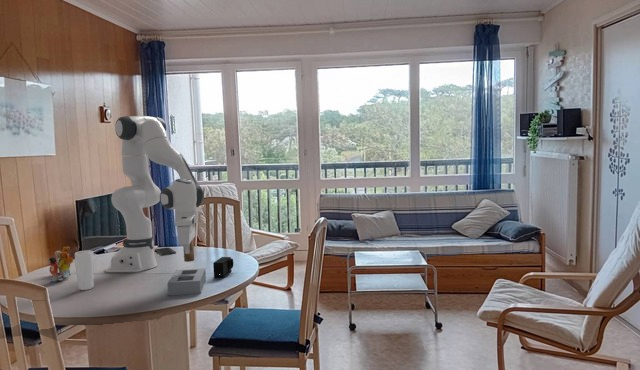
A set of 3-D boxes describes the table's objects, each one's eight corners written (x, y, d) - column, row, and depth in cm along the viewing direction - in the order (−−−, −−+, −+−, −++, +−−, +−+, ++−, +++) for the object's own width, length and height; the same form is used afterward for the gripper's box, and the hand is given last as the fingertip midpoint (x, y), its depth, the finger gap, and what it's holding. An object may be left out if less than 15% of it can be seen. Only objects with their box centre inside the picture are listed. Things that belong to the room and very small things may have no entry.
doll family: (57, 272, 206) (55, 244, 205) (80, 270, 209) (78, 242, 208) (48, 285, 186) (46, 254, 185) (74, 282, 190) (72, 251, 189)
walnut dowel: (183, 262, 181) (182, 242, 180) (185, 259, 185) (183, 240, 184) (193, 261, 181) (192, 241, 181) (195, 259, 185) (193, 240, 184)
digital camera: (226, 278, 190) (225, 262, 190) (213, 278, 191) (213, 262, 191) (234, 272, 201) (233, 256, 200) (222, 271, 201) (221, 256, 201)
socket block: (168, 295, 170) (167, 282, 169) (176, 281, 188) (176, 269, 187) (200, 293, 171) (199, 280, 171) (205, 279, 189) (205, 268, 189)
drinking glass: (83, 292, 176) (80, 254, 175) (73, 289, 180) (70, 253, 178) (99, 287, 182) (96, 251, 181) (89, 285, 185) (87, 249, 184)
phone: (168, 247, 251) (176, 252, 239) (168, 249, 251) (176, 254, 239) (154, 249, 246) (161, 254, 234) (154, 251, 247) (161, 256, 234)
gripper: (182, 215, 191) (184, 247, 192) (174, 222, 171) (176, 258, 172) (197, 214, 192) (199, 246, 193) (191, 221, 172) (193, 257, 173)
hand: (188, 251), depth 183 cm, fingers closed on walnut dowel, 4 cm apart
